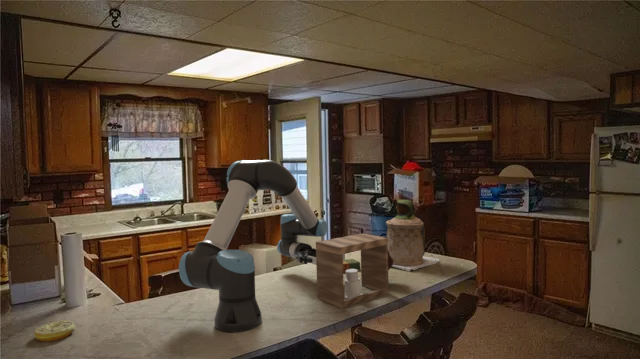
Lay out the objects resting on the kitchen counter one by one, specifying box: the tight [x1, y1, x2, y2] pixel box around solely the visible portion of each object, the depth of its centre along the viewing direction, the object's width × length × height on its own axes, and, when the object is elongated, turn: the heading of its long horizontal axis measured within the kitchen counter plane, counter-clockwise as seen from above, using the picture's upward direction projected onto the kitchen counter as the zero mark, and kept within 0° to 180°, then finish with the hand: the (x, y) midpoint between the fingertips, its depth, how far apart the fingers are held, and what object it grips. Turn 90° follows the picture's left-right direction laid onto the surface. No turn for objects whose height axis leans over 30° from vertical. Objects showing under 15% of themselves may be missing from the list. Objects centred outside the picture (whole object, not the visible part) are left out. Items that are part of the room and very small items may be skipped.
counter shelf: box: [315, 233, 390, 309], centre depth 165 cm, size 24×14×22 cm, turn 128°
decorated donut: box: [34, 319, 77, 343], centre depth 136 cm, size 10×11×4 cm
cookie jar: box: [385, 197, 440, 272], centre depth 212 cm, size 25×25×32 cm
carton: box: [343, 258, 361, 273], centre depth 203 cm, size 8×16×4 cm, turn 111°
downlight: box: [344, 269, 363, 299], centre depth 165 cm, size 8×7×10 cm
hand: (331, 259), depth 175 cm, fingers open, 13 cm apart
